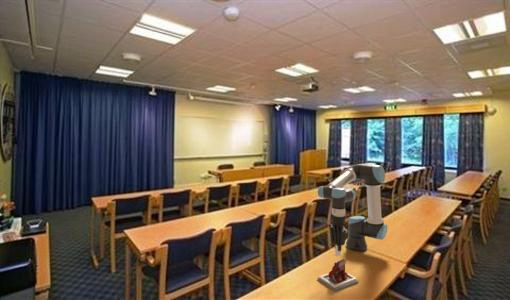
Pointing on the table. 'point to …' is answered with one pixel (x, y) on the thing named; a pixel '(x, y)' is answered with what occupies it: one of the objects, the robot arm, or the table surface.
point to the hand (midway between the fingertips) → (337, 255)
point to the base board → (336, 285)
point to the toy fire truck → (338, 271)
